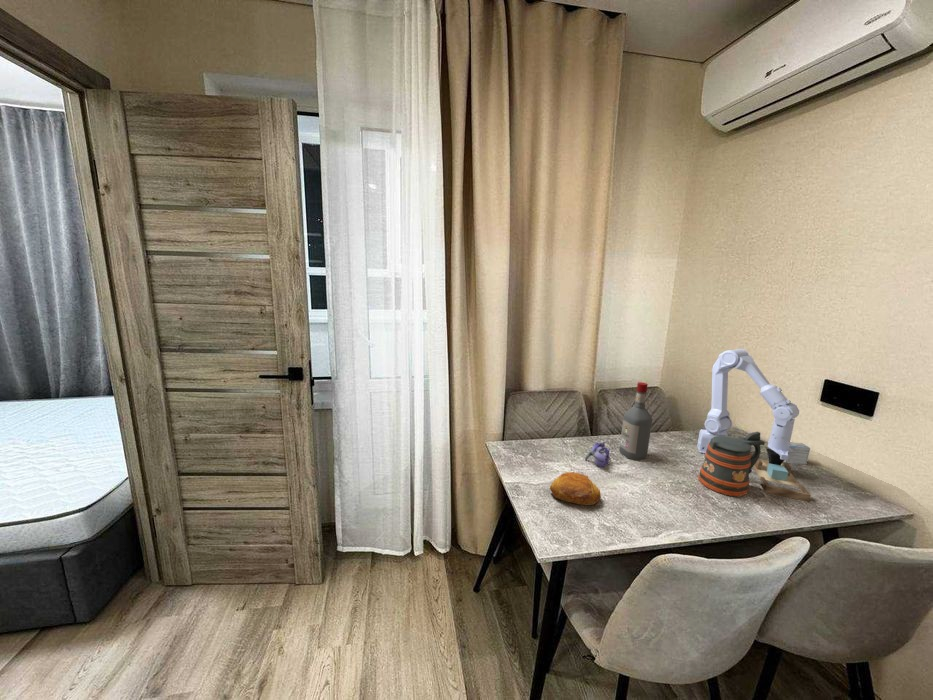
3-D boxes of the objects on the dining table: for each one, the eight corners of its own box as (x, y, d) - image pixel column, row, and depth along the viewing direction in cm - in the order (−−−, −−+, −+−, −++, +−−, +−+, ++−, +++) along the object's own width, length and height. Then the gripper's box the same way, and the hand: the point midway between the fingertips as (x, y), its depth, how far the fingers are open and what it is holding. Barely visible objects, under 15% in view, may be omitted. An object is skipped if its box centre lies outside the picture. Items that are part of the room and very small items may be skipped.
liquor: (630, 461, 150) (640, 387, 144) (616, 450, 159) (625, 380, 153) (650, 459, 153) (660, 386, 146) (635, 448, 161) (644, 380, 155)
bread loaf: (596, 518, 118) (603, 496, 116) (546, 500, 123) (551, 478, 120) (598, 493, 131) (604, 473, 129) (553, 477, 136) (558, 457, 134)
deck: (765, 492, 132) (767, 480, 131) (745, 459, 155) (747, 449, 154) (809, 501, 127) (812, 489, 126) (782, 466, 151) (784, 456, 150)
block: (771, 478, 138) (772, 469, 138) (766, 471, 143) (768, 463, 142) (786, 481, 137) (788, 472, 136) (781, 474, 141) (783, 466, 141)
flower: (580, 448, 145) (606, 439, 143) (580, 448, 153) (605, 440, 151) (589, 472, 142) (616, 464, 140) (589, 471, 150) (615, 463, 148)
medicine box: (797, 462, 155) (802, 442, 153) (806, 468, 150) (810, 447, 148) (776, 461, 155) (781, 441, 154) (784, 466, 151) (789, 446, 149)
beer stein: (732, 472, 145) (741, 422, 141) (769, 494, 131) (781, 439, 127) (688, 475, 141) (697, 424, 137) (722, 498, 127) (733, 442, 123)
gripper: (802, 445, 132) (793, 481, 135) (787, 430, 145) (779, 463, 148) (777, 441, 135) (769, 476, 138) (764, 426, 148) (757, 459, 151)
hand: (773, 469), depth 143 cm, fingers closed
